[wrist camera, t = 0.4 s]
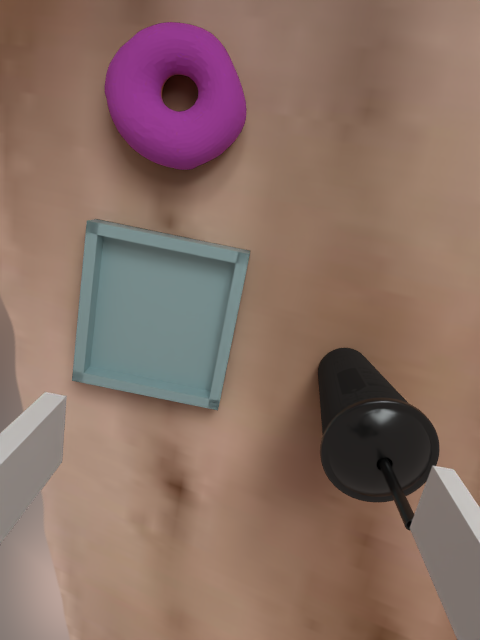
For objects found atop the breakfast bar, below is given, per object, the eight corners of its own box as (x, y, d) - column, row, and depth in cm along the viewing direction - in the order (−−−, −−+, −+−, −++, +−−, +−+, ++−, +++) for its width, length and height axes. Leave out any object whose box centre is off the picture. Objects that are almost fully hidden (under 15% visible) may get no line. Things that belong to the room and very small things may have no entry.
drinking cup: (289, 389, 42) (311, 551, 23) (325, 320, 40) (382, 437, 21) (359, 419, 43) (438, 603, 23) (398, 353, 41) (520, 496, 21)
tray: (96, 219, 38) (86, 220, 36) (250, 250, 39) (249, 254, 36) (81, 371, 43) (72, 380, 41) (220, 399, 43) (217, 410, 41)
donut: (263, 133, 36) (263, 124, 32) (160, 192, 38) (147, 192, 33) (203, 7, 34) (194, -21, 29) (96, 76, 35) (73, 60, 31)
